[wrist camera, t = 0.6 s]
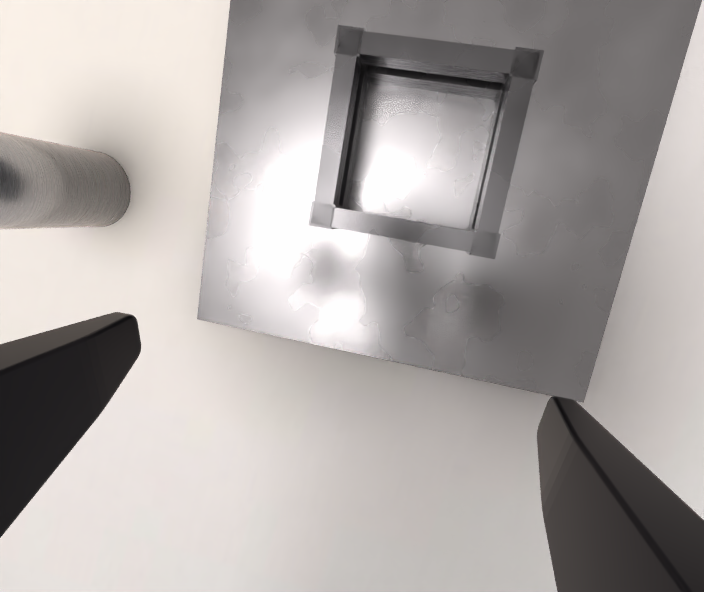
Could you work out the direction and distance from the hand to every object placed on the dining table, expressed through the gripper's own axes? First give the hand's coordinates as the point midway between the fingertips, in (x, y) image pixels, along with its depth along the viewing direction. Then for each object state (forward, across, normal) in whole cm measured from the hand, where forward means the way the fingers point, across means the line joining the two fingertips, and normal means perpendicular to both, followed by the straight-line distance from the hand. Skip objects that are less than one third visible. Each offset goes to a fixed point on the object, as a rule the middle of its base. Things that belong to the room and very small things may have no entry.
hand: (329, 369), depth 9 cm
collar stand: (+15, -1, -2) cm, 15 cm away
